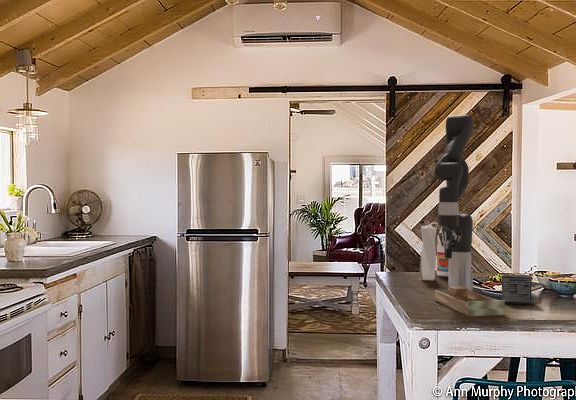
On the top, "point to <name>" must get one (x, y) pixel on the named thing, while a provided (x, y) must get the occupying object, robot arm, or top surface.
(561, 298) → the top surface
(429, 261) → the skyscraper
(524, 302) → the small box
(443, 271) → the fruit juice
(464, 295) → the walnut block
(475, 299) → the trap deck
